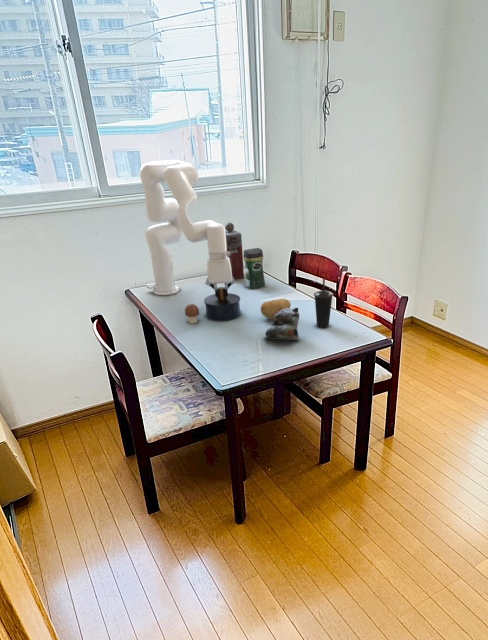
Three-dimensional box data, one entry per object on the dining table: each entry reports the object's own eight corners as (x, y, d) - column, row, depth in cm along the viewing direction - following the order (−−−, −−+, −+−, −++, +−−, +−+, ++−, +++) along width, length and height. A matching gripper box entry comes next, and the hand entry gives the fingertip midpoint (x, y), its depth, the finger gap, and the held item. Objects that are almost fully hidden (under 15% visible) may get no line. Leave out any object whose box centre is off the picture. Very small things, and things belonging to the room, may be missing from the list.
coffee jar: (260, 282, 254) (258, 245, 245) (267, 286, 248) (265, 249, 239) (243, 285, 251) (240, 248, 241) (249, 289, 244) (247, 252, 235)
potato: (296, 317, 212) (296, 299, 208) (268, 325, 206) (267, 307, 202) (283, 311, 219) (283, 293, 215) (256, 318, 213) (255, 300, 209)
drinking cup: (334, 323, 206) (335, 276, 196) (329, 330, 200) (330, 282, 190) (316, 321, 208) (317, 274, 198) (311, 328, 202) (311, 280, 192)
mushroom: (185, 324, 208) (183, 307, 204) (186, 319, 213) (184, 302, 209) (200, 323, 209) (197, 306, 205) (200, 318, 214) (198, 301, 210)
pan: (206, 322, 210) (204, 307, 207) (206, 309, 223) (205, 295, 219) (240, 319, 212) (239, 305, 208) (239, 307, 224) (238, 293, 221)
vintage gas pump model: (230, 282, 255) (226, 226, 241) (222, 276, 264) (217, 222, 249) (246, 279, 259) (242, 224, 244) (237, 274, 267) (233, 220, 253)
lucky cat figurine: (258, 338, 194) (263, 303, 193) (282, 343, 201) (288, 309, 200) (279, 340, 182) (285, 302, 181) (304, 345, 189) (310, 308, 188)
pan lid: (203, 309, 207) (202, 295, 204) (204, 296, 220) (202, 283, 217) (241, 306, 208) (240, 292, 205) (239, 294, 222) (238, 281, 218)
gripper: (237, 251, 208) (240, 294, 217) (198, 254, 206) (203, 296, 216) (238, 256, 201) (241, 300, 211) (198, 258, 200) (202, 302, 209)
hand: (221, 297), depth 213 cm, fingers closed on pan lid, 2 cm apart
